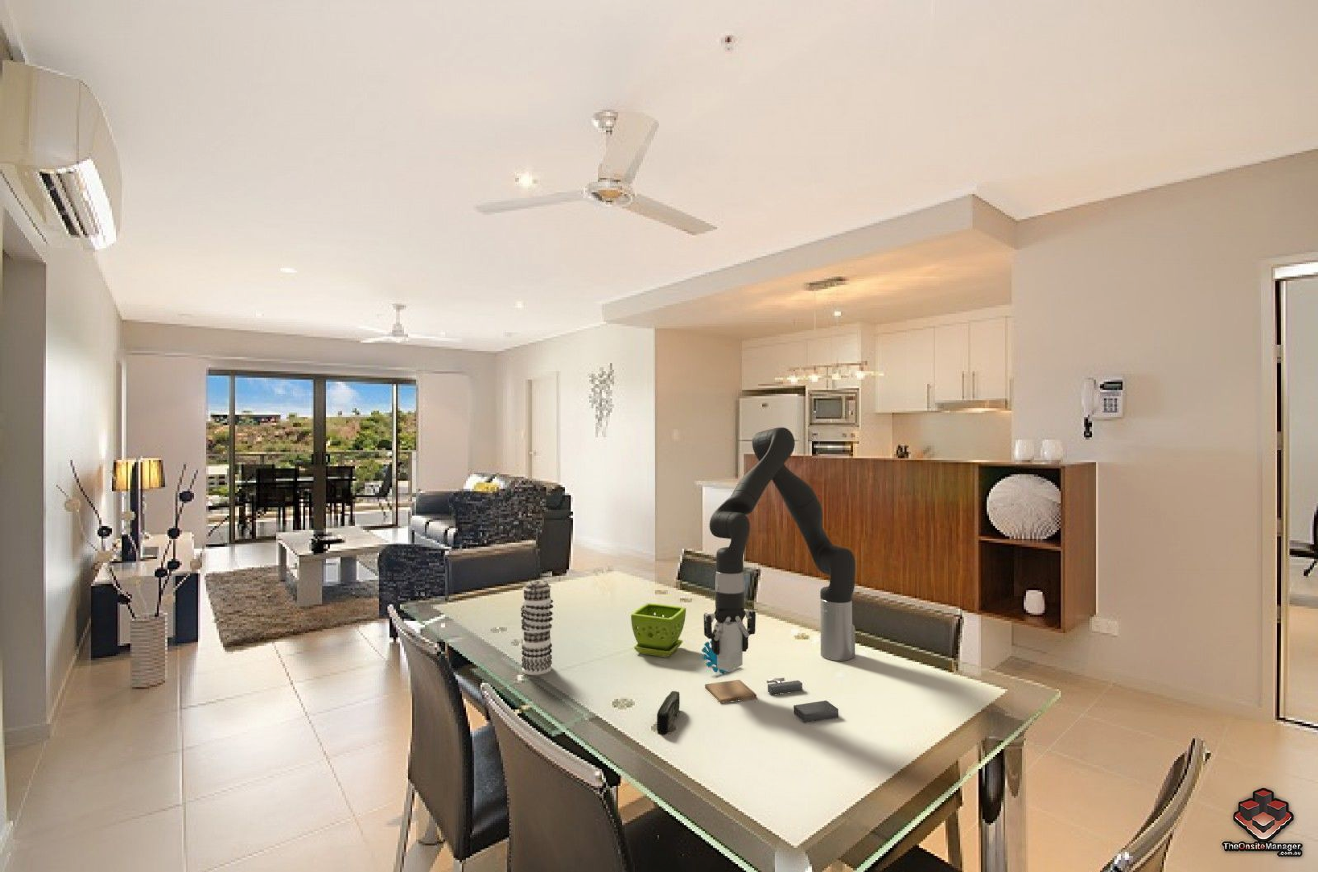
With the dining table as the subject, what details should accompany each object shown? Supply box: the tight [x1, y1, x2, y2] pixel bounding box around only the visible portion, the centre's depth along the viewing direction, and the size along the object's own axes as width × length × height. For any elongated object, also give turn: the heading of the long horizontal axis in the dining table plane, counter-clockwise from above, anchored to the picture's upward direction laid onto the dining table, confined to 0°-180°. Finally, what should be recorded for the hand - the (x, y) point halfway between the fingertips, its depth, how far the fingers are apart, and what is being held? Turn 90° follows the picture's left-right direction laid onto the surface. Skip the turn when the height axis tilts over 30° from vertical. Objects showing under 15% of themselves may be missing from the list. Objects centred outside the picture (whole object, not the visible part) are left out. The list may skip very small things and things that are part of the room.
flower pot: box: [630, 602, 687, 659], centre depth 186 cm, size 14×14×13 cm
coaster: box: [704, 679, 758, 704], centre depth 154 cm, size 10×10×1 cm
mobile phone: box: [656, 690, 681, 735], centre depth 139 cm, size 5×3×15 cm
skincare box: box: [717, 619, 744, 672], centre depth 154 cm, size 6×4×12 cm
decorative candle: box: [520, 579, 554, 676], centre depth 171 cm, size 9×9×25 cm
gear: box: [701, 639, 727, 674], centre depth 172 cm, size 11×6×10 cm
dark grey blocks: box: [766, 677, 839, 724], centre depth 149 cm, size 9×22×2 cm, turn 18°
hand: (729, 652), depth 154 cm, fingers closed on skincare box, 7 cm apart
